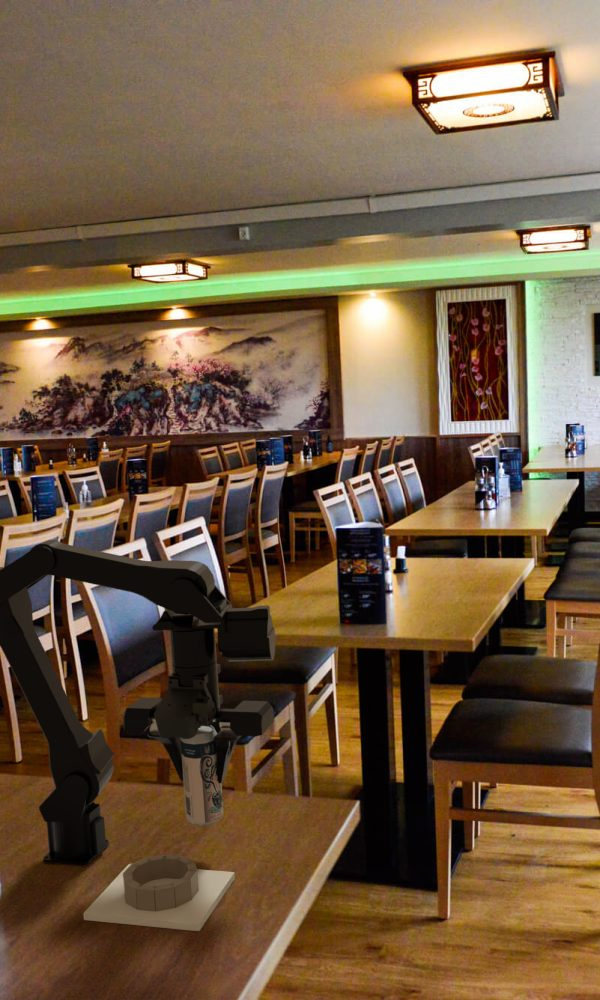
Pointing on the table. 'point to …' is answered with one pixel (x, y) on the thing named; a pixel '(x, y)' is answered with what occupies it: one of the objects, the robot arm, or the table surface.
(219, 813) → the beer can
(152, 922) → the socket board
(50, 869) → the table surface
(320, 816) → the table surface
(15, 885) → the table surface
